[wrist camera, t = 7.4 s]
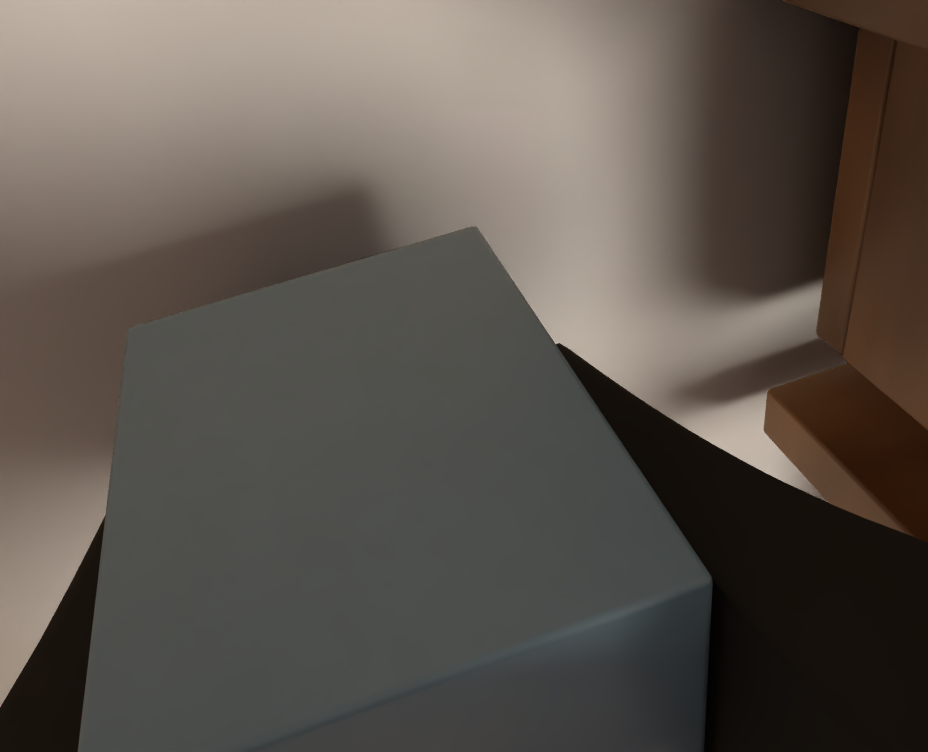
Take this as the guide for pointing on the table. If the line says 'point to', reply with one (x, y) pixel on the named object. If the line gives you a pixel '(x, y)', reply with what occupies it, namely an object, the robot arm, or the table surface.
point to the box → (384, 532)
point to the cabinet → (877, 17)
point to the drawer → (872, 306)
